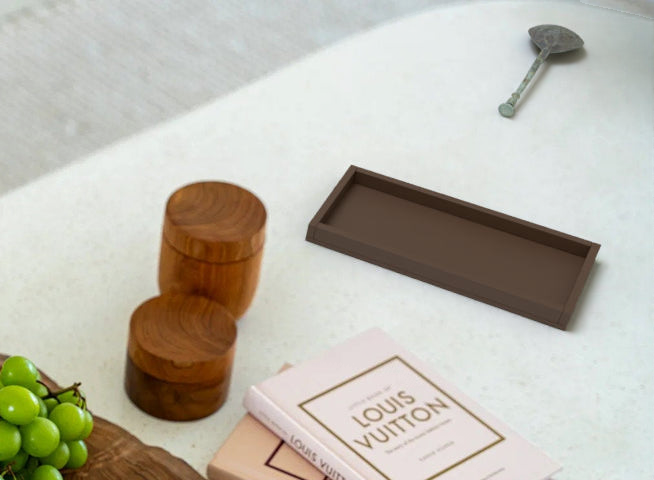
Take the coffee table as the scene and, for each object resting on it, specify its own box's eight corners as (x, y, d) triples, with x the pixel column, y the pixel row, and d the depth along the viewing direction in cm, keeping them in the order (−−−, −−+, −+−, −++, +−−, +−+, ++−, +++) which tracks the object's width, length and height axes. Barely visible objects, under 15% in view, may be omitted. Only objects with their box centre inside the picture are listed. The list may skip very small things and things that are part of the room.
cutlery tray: (594, 260, 111) (601, 244, 109) (564, 331, 104) (572, 314, 102) (347, 180, 119) (351, 164, 118) (304, 240, 112) (308, 223, 111)
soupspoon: (587, 48, 139) (532, 34, 142) (595, 21, 137) (540, 8, 140) (532, 125, 126) (473, 109, 129) (540, 97, 124) (480, 81, 127)
